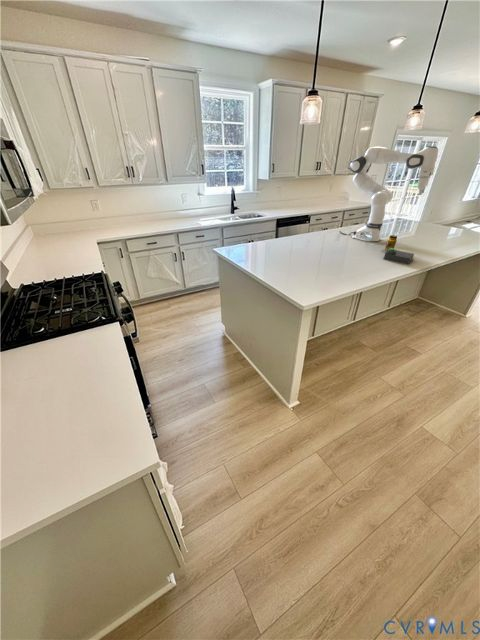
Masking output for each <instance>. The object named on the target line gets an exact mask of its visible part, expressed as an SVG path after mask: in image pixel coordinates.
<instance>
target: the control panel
mask: <svg viewBox="0 0 480 640" xmlns="http://www.w3.org/2000/svg"><path fill="white" fill-rule="evenodd" d="M388 250H389V249H387V250H386V252H384V253H385V254H384V256H383V260H386V261H390V262H395V263H401V264H405V265H409V264H410V263H411V262H412V260H413V259H414V257H415V253H413V252H407V251H401V250H397V249H395V250H394V251H393V252H392V251H388Z"/></svg>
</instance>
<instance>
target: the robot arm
mask: <svg viewBox="0 0 480 640" xmlns="http://www.w3.org/2000/svg"><path fill="white" fill-rule="evenodd" d="M438 154H439V148H438V147H437V146H433V145H432V146H431V145H430V146H425V147H424V148H423V149H421V150H420V151H417V152H414V153H407V152H401V151H397V150H395V149H392V148H389V147H384V146H371V147H369V148H368V149H367V150H366V151H365V154H364V156H363V155H361V156H359V157H357V158H354V160H352V161H351V163H350V167H349V168H350V171H351V172H352V174H353V173H354V175H353V178H352V183H353V184H354V186H355V187H356V188H357V189H358V190H359V191H360V192H362V193H363V194H364V195H365V196H366V197H369V198H370V203H371V205H370V206H371V207H370V214H369V218H368V220H367V221H366V222H365V223H364V226H363V227H360V228H359V229H357V230H355V231H352V232H350V233H348V234H346V233H343V232H342V231H341V230H340V231H339V233H340V235H344V236H350V235H351V236H352V239H356V240H360V241H364V242H379V241H380V237H381V236H380V235H381V230H382V228H383V224H384V223H383V222H384V219H385V215H386V205H387V204H389V203H390V202H391V201H392V200H393V197H394V194H393V192H392V191H391V190H389V189H387V188H386V187H385V186H382V185H381V184H379V183H378V182H377V181H375V180H374V179H373V178H372V177H370V175H368V172H369V171H370V169H371V167H372V164H375V165H376V164H377V165H388V164H393V163H402V164H405V166H406V168H407V169H410V170H415V169H419V170H418V175H417V177H418V182H417V183H418V184H417V189H418V196H422V195H423V194H424V193H425V190H426V188H427V186H428V185H429V181H430V179H431V177H432V176H433V175H434V172H435V167H436V162H437V159H438Z"/></svg>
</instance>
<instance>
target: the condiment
mask: <svg viewBox="0 0 480 640" xmlns="http://www.w3.org/2000/svg"><path fill="white" fill-rule="evenodd" d="M397 239H398V236H397V235H395V234H394V235H393V234H390V235H389V237H388V238H387V241H386V244H385V247H384V249H383V250H382V252H384V253H386V250H387V249H389V248H394V249H395V247H396V244H397Z"/></svg>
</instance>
